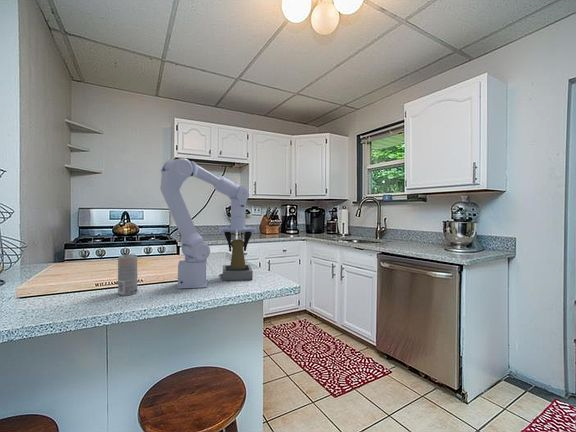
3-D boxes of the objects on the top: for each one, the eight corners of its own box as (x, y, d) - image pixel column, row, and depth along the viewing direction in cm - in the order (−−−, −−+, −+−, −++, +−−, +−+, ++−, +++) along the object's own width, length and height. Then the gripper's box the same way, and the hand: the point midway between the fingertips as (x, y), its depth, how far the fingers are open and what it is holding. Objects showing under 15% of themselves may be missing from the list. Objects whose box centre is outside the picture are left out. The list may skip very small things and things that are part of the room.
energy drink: (134, 289, 94) (134, 253, 94) (139, 293, 91) (139, 256, 90) (116, 292, 91) (115, 255, 90) (120, 297, 87) (120, 258, 86)
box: (222, 281, 107) (223, 271, 106) (222, 273, 117) (222, 265, 117) (252, 280, 109) (252, 271, 109) (249, 272, 120) (249, 264, 120)
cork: (245, 268, 109) (245, 239, 109) (229, 269, 109) (229, 240, 109) (246, 266, 115) (245, 238, 115) (230, 266, 115) (230, 239, 115)
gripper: (219, 217, 106) (218, 253, 107) (258, 217, 110) (257, 252, 111) (219, 215, 113) (218, 249, 114) (255, 216, 117) (254, 249, 117)
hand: (237, 251), depth 113 cm, fingers closed on cork, 5 cm apart
